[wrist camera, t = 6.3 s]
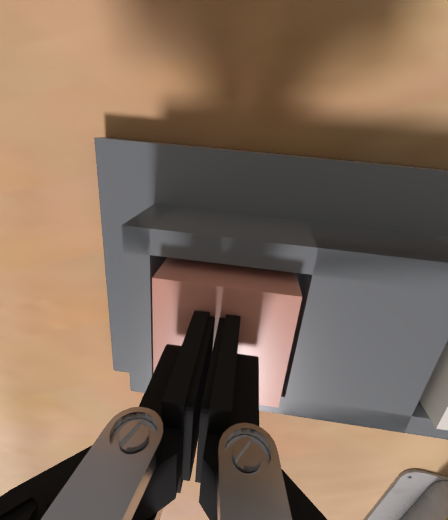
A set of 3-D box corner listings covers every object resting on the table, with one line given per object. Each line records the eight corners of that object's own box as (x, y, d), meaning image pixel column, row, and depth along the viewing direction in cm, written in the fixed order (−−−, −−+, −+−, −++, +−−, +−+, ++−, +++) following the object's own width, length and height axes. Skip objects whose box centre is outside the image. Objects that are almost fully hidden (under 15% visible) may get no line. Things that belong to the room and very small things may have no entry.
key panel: (677, 191, 12) (896, 220, 8) (522, 417, 17) (605, 507, 13) (105, 137, 14) (38, 138, 9) (121, 358, 19) (81, 421, 15)
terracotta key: (292, 259, 13) (302, 296, 10) (274, 352, 14) (278, 407, 12) (176, 245, 13) (152, 277, 10) (174, 338, 15) (153, 388, 12)
